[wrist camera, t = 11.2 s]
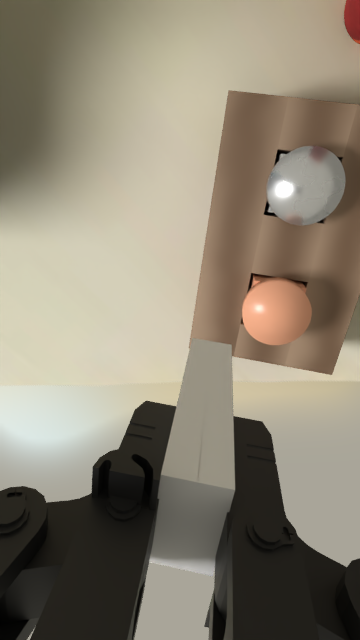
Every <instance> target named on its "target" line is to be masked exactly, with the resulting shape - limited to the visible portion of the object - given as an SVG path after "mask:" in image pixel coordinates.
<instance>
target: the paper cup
mask: <svg viewBox="0 0 360 640" xmlns="http://www.w3.org/2000/svg"><path fill="white" fill-rule="evenodd" d="M344 21H345V26H346V29H347V32H348V34H349V35H350V37H351V38H352V39H353V40H354V41H355V42H357V43H358V44H360V0H347V1H346V5H345V11H344Z"/></svg>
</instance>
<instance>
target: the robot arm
mask: <svg viewBox="0 0 360 640" xmlns="http://www.w3.org/2000/svg"><path fill="white" fill-rule="evenodd" d="M273 450H274V449H273V443H272V437H271V434H270V433H269V431H268V430H267V428H266V427H265V425H264V424H263V422H261V421H255V420H251V419H245V418H240V417H235V416H233V381H232V345H230V344H224V343H218V342H213V341H207V340H201V339H195V338H192V342H191V346H190V350H189V355H188V359H187V363H186V368H185V372H184V376H183V381H182V385H181V389H180V394H179V398H178V402H177V407H176V406H171V405H166V404H160V403H155V402H150V401H145V402H144V403H143V404H141V405H140V406H139V407H138V408H137V409H135V411H134V414H133V416H132V419H131V421H130V424H129V426H128V428H127V430H126V433H125V436H124V438H123V440H122V443H121V445H120V447H119V449H118V450H113V451H110V452H108V453H107V454H105V455H103V456H102V457H100V458H99V459H98V461H97V462H96V463H95V465H94V466H93V477H92V493H91V494H89V495H87V496H85V497H82V498H80V499H75V500H70V501H59V502H49V503H46V501H45V498H44V496H43V495H42V494H41V493H39V492H38V491H37V490H36V489H32V488H28V487H24V486H21V487H10V488H7V489H5V490H2V491H0V640H27V638H28V637H29V635H30V634H31V632H32V631H33V629H34V628H35V630H34V632H33V634H32V636H31V639H30V640H134V637H135V632H136V627H137V622H138V617H139V612H140V607H141V603H142V598H143V593H144V587H145V579H146V574H147V569H148V564H149V562H152V563H157V564H160V565H165V566H170V567H174V568H179V569H183V570H187V571H192V572H196V573H201V574H205V575H209V576H213V572H214V568H215V587H214V592H213V596H212V599H211V602H210V606H209V610H208V614H207V618H206V622H205V627H209V640H360V559H356V560H353V561H351V563H350V564H349V565H348V567H345V566H343V565H341V564H340V563H338V562H336V561H334V560H332V559H330V558H328V557H326V556H324V555H322V554H321V553H319V552H317V551H316V550H314V549H313V548H311V547H309V546H308V545H307V544H306V543H304V541H302V540H301V539H300V538H299V537H298V535H297V533H296V530H295V528H294V527H293V526H292V524H291V523H290V522H289V521H288V519H287V518H286V515H285V511H284V506H283V500H282V494H281V489H280V483H279V478H278V472H277V466H276V464H275V462H276V460H275V454H274V452H273ZM35 626H36V627H35Z"/></svg>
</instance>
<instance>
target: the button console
mask: <svg viewBox="0 0 360 640" xmlns="http://www.w3.org/2000/svg"><path fill="white" fill-rule="evenodd" d="M304 146H318V147H322V148H325V149H327V150H329V151H331V152H332V153H333V154H335V155H336V157H337V158H338V159H339V160H340V162H341V164H342V166H343V169H344V172H345V189H344V193H343V196H342V198H341V200H340V202H339V204H338V205H337V207H336V208H335V209H334V210H333V212H332V213H330V214H329V215H328V216H327V217H326V218H324V219H322V220H321V221H319V222H316V223H313V224H310V225H294V224H290V223H287V222H285V221H284V220H282V219H280V218H279V217H278V216H277V215H276V214H274V213H272V212H267V211H266V210H265V206H266V201H267V197H266V185H267V180H268V177H269V174H270V172H271V170H272V169H273V167H274V164H275V159H276V157H277V156H279V155H280V154H288V153H289V152H291V151H293V150H295V149H297V148H300V147H304ZM251 273H255V274H261V275H267V276H273V277H280V278H286V279H292V280H298V281H301V282H302V283H303V284H304V286H305V287H306V293H305V294H306V296H307V297H308V299H309V301H310V304H311V308H312V317H311V321H310V324H309V326H308V328H307V329H306V331H305V332H304V333H303V334H302V335H301V336H300V337H299V338H297V339H296V340H294V341H292V342H290V343H287V344H283V345H268V344H264V343H262V342H259V341H258V340H256V339H255V338H253V337H252V336H251V335H250V334H249V333H248V331H247V330H246V328H245V327H244V323H243V318H242V304H243V300H244V298H245V295H246V294H247V291H248V286H249V281H250V277H251ZM359 295H360V105H357V104H348V103H339V102H330V101H321V100H311V99H302V98H293V97H284V96H275V95H266V94H257V93H247V92H238V91H229V92H228V98H227V104H226V111H225V117H224V124H223V130H222V137H221V143H220V150H219V156H218V163H217V169H216V176H215V182H214V189H213V195H212V201H211V208H210V214H209V221H208V227H207V234H206V240H205V247H204V253H203V260H202V266H201V273H200V279H199V286H198V292H197V299H196V305H195V311H194V318H193V324H192V331H191V337H190V344H189V348H190V346H191V342H192V338H195V339H201V340H207V341H213V342H218V343H224V344H230V345H232V356H234V357H239V358H245V359H250V360H255V361H261V362H266V363H271V364H277V365H282V366H287V367H293V368H298V369H303V370H309V371H314V372H319V373H325V374H330V375H332V373H333V370H334V367H335V365H336V362H337V359H338V356H339V353H340V350H341V347H342V344H343V341H344V338H345V335H346V333H347V330H348V327H349V324H350V321H351V318H352V315H353V312H354V309H355V306H356V304H357V301H358V298H359Z"/></svg>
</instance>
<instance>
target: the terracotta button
mask: <svg viewBox="0 0 360 640" xmlns="http://www.w3.org/2000/svg"><path fill="white" fill-rule="evenodd" d="M305 293H306V287H305V286H304V284H303V283H302V282H301V281H298V280H292V279H286V278H280V277H273V276H267V275H261V274H255V273H251V277H250V281H249V286H248V291H247V294H246V295H245V298H244V300H243V304H242V318H243V323H244V327H245V328H246V330H247V331H248V333H249V334H250V335H251V336H252V337H253V338H255V339H256V340H258V341H259V342H262V343H264V344H268V345H283V344H287V343H290V342H292V341H294V340H296V339H297V338H299V337H300V336H301V335H302V334H303V333H304V332H305V331H306V329H307V328H308V326H309V324H310V321H311V317H312V308H311V304H310V301H309V299H308V297H307V296H306V294H305Z"/></svg>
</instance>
